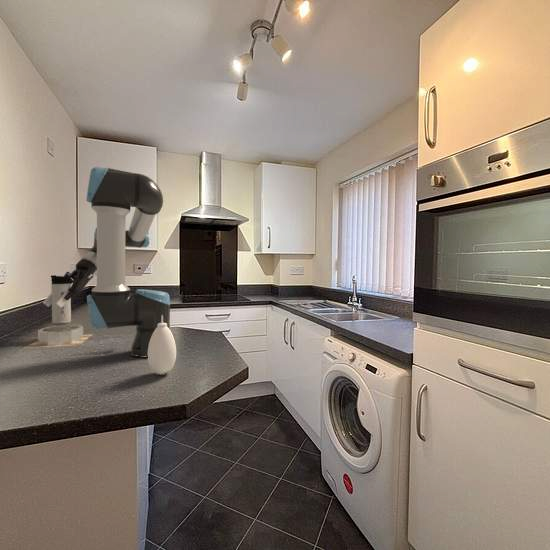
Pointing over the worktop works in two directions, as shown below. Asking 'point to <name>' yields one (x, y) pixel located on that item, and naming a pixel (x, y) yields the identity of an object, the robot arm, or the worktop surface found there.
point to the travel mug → (58, 289)
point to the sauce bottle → (161, 349)
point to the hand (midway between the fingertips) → (52, 305)
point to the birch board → (58, 345)
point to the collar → (60, 334)
